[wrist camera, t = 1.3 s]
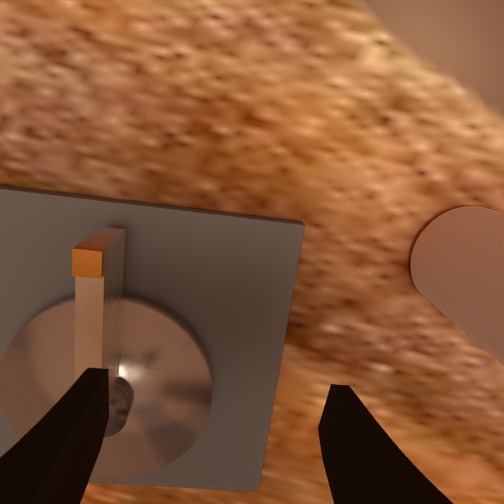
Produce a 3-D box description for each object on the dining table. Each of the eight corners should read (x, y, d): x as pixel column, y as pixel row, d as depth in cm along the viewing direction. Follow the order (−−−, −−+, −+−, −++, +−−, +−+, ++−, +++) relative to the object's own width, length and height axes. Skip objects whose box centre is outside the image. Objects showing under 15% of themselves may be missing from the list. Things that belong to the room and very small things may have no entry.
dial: (202, 468, 26) (196, 545, 21) (13, 456, 25) (-39, 535, 20) (231, 235, 22) (232, 265, 17) (1, 209, 21) (-68, 233, 16)
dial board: (257, 479, 29) (258, 493, 27) (-54, 461, 27) (-67, 475, 26) (301, 221, 23) (305, 225, 22) (-84, 175, 21) (-101, 177, 20)
